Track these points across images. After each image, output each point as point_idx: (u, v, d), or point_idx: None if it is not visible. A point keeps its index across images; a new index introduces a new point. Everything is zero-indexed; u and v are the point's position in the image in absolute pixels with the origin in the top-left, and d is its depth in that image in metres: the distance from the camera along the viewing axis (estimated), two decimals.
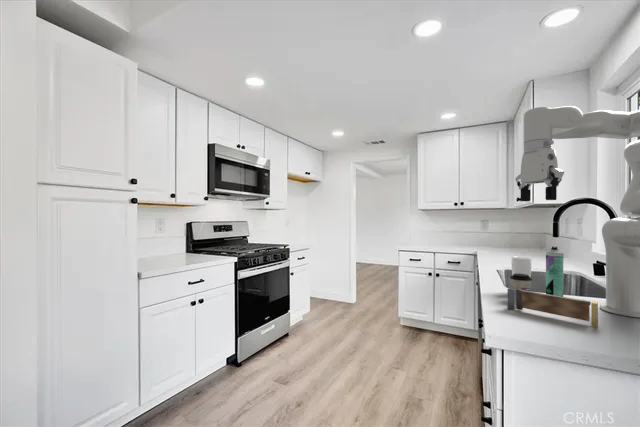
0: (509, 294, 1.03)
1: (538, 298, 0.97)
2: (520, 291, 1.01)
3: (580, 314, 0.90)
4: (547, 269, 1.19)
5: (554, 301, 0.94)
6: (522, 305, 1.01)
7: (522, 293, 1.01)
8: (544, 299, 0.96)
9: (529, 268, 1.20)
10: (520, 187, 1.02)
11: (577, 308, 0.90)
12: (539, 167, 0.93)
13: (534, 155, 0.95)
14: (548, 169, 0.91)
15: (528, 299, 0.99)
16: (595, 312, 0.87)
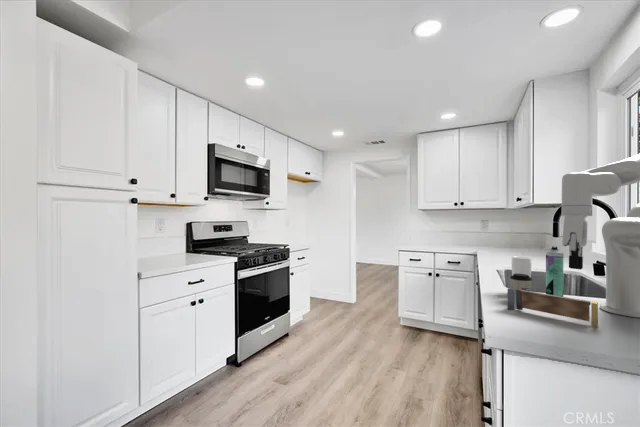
0: (509, 294, 1.03)
1: (538, 298, 0.97)
2: (520, 291, 1.01)
3: (580, 314, 0.90)
4: (547, 269, 1.19)
5: (554, 301, 0.94)
6: (522, 305, 1.01)
7: (522, 293, 1.01)
8: (544, 299, 0.96)
9: (529, 268, 1.20)
10: (580, 254, 0.94)
11: (577, 308, 0.90)
12: None
13: None
14: None
15: (528, 299, 0.99)
16: (595, 312, 0.87)
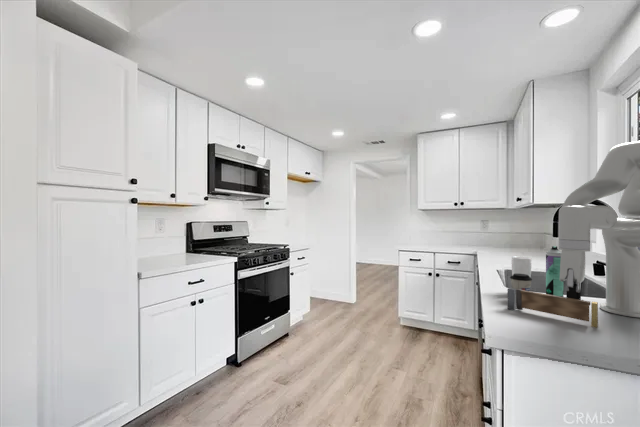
0: (509, 294, 1.03)
1: (538, 298, 0.97)
2: (520, 291, 1.01)
3: (580, 314, 0.89)
4: (547, 269, 1.19)
5: (554, 301, 0.94)
6: (522, 305, 1.01)
7: (522, 293, 1.01)
8: (544, 299, 0.96)
9: (529, 268, 1.20)
10: (578, 290, 0.91)
11: (577, 308, 0.90)
12: None
13: None
14: None
15: (528, 299, 0.99)
16: (595, 312, 0.87)
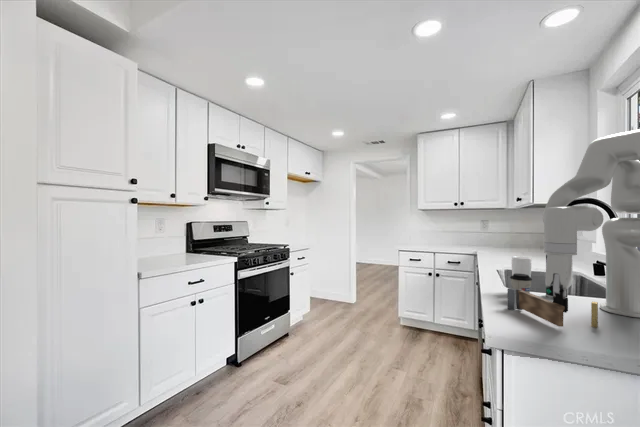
0: (509, 294, 1.03)
1: (528, 299, 0.96)
2: (518, 291, 1.01)
3: (554, 318, 0.86)
4: None
5: (538, 303, 0.92)
6: (519, 305, 1.01)
7: (519, 293, 1.01)
8: (532, 300, 0.95)
9: (529, 268, 1.20)
10: (565, 296, 0.86)
11: (552, 312, 0.87)
12: (572, 271, 0.88)
13: None
14: None
15: (522, 299, 0.99)
16: (595, 312, 0.87)
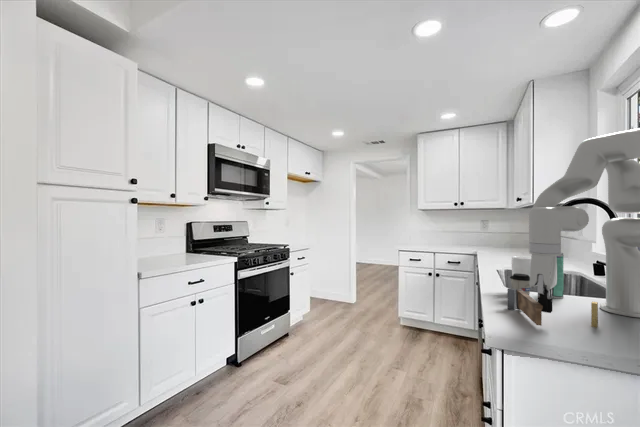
0: (509, 294, 1.03)
1: (522, 298, 0.97)
2: (517, 290, 1.02)
3: (534, 317, 0.87)
4: None
5: (526, 302, 0.93)
6: (518, 305, 1.01)
7: (517, 293, 1.01)
8: (524, 300, 0.95)
9: (529, 268, 1.20)
10: (549, 297, 0.86)
11: (533, 311, 0.88)
12: (556, 272, 0.88)
13: (556, 259, 0.87)
14: None
15: (519, 299, 1.00)
16: (595, 312, 0.87)
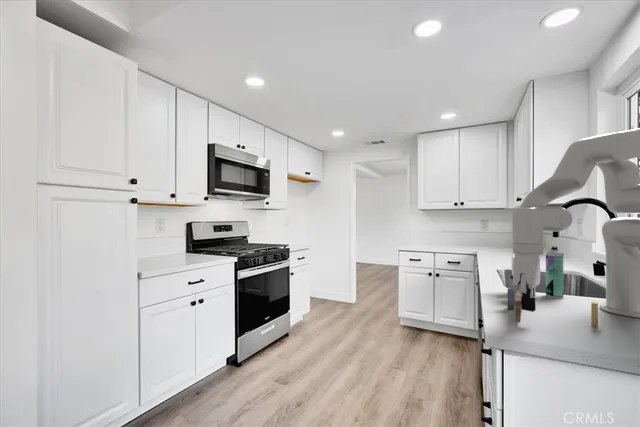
0: (509, 294, 1.03)
1: None
2: (516, 290, 1.02)
3: None
4: (547, 269, 1.19)
5: None
6: None
7: None
8: None
9: None
10: (532, 296, 0.88)
11: None
12: (539, 271, 0.90)
13: (539, 258, 0.88)
14: None
15: None
16: (595, 312, 0.87)
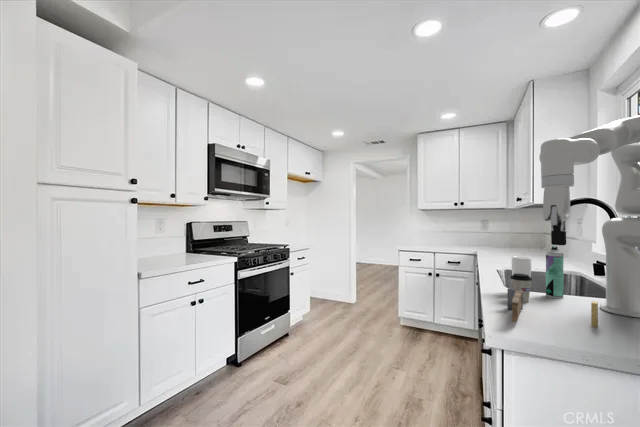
0: (509, 294, 1.03)
1: None
2: None
3: None
4: (547, 269, 1.19)
5: None
6: None
7: None
8: None
9: (529, 268, 1.20)
10: (563, 229, 0.86)
11: None
12: None
13: (569, 191, 0.87)
14: None
15: None
16: (595, 312, 0.87)
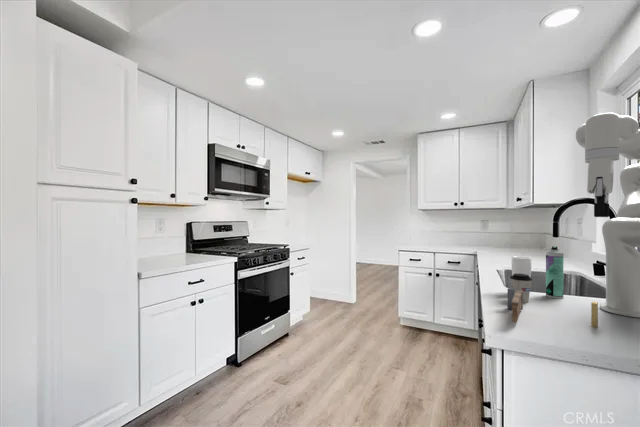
0: (509, 294, 1.03)
1: None
2: None
3: None
4: (547, 269, 1.19)
5: None
6: None
7: None
8: None
9: (529, 268, 1.20)
10: (607, 201, 0.88)
11: None
12: None
13: (613, 165, 0.89)
14: None
15: None
16: (595, 312, 0.87)
